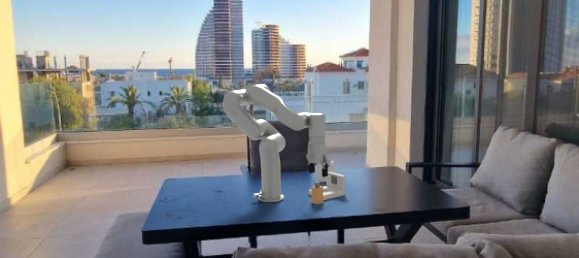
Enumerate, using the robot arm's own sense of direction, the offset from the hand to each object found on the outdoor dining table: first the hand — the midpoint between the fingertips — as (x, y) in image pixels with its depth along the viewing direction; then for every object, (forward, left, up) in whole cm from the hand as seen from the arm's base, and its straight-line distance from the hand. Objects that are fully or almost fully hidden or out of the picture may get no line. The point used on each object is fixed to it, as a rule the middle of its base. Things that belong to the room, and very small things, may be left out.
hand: (318, 174), depth 211 cm
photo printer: (+28, +28, -14) cm, 42 cm away
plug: (0, +1, -14) cm, 14 cm away
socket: (+11, +8, -14) cm, 19 cm away
